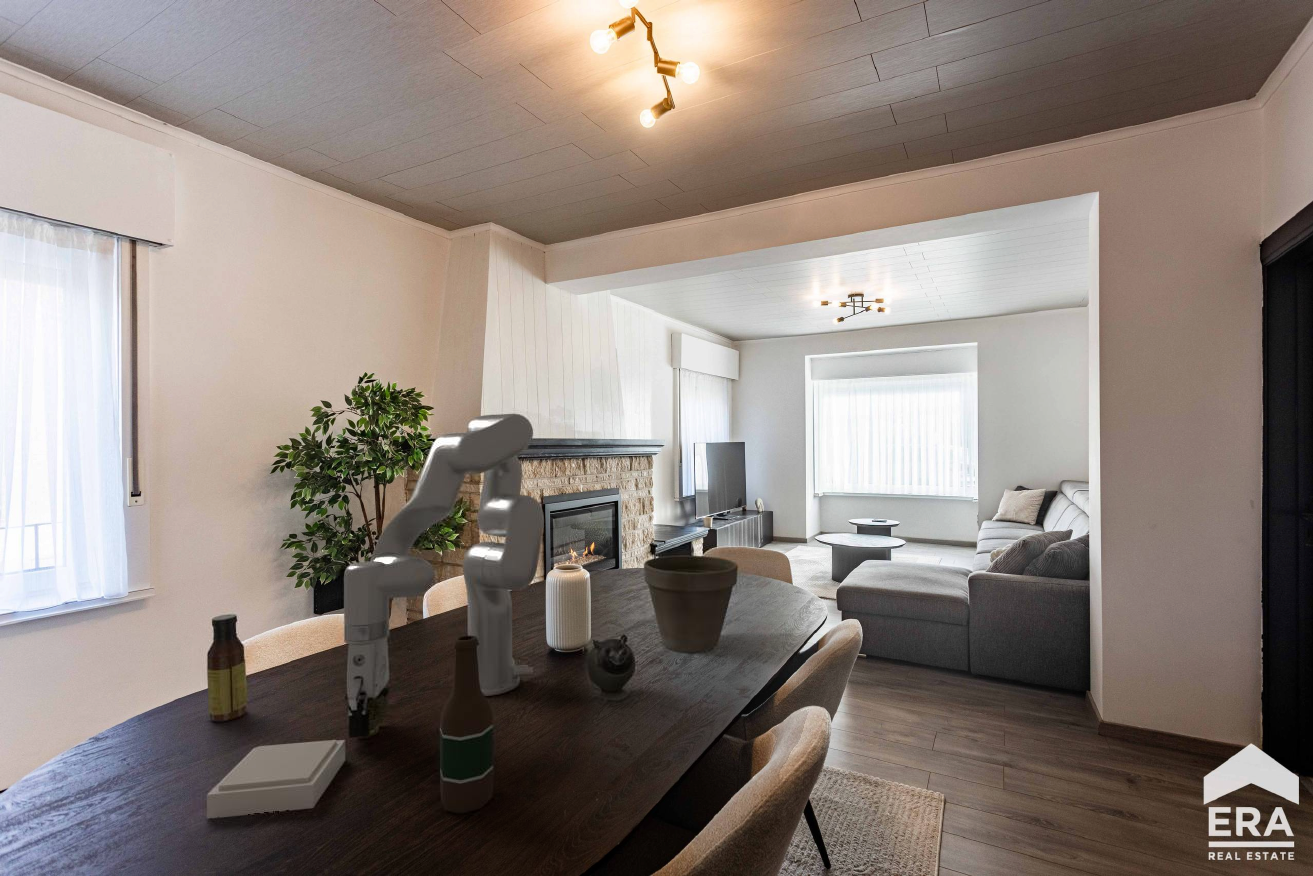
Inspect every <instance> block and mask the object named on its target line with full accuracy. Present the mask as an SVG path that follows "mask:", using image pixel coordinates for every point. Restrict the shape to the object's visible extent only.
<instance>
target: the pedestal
mask: <svg viewBox="0 0 1313 876" xmlns="http://www.w3.org/2000/svg"><path fill="white" fill-rule="evenodd" d="M345 761H346V739H341V740H337V739H331V740H317V741H306V742H304V741H303V742H296V743H285V744H284V743H281V744H272V745H271V744H270V745H269V744H268V745H258V746H257V747H253V749H251V750H250V751H249V753H248V754H246V756H245V757H244V758H243V759H241V760H240V761H239V762H238V763H237V764H236V765H235V766H234V767H233V769H231V770H230V771H229V772H228V773H227V774H226V776H223V778H222V779H221V780H220V781H219V782H218V783H217V784H216V785H215V786H214V787H213V788H212V789H211V790H210V791H209V792H208V793H207V795H206V819H207V820H209V819H210V818H211V819H219V818H220V819H221V818H227V817H228V818H230V817H238V816H249V815H248V814H250V815H255V814H254V813H260V814H265V813H264V812H269V813H276V812H275V811H279V812H287V811H286V810H289V811H297V810H298V811H299V810H306V809H313V808H314V807H316V804H317V803H318V801H319V800H320V798H321V796H322V795H323V794H324V793H325V791H326V789H327V788H328V787H329V786H330V784H331V783H332V781H333V779H334V778H335V776H336V775H337V773H338V772H339V770H340V768H341V767H342V766H343V765H344V763H345ZM273 811H274V812H273ZM218 817H219V818H218Z"/></svg>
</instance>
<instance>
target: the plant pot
mask: <svg viewBox="0 0 1313 876" xmlns="http://www.w3.org/2000/svg"><path fill="white" fill-rule="evenodd" d="M738 569H739V565H738V564H737V563H736V562H735V561H734V560H733V561H732V560H729V559H727V558H726V559H725V558H723V557H722V558H721V557H715V556H713V557H712V556H704V555H703V556H702V555H669V556H660V557H653V558H651V559H647V560H646V561H645V562H644V563H643V571H644V572H643V573H644V582H645V583H646V584H647V585H648V590H649V594H650V598H651V603H652V606H653V610H654V615H655V619H656V622H657V626H658V630H659V634H660V638H661V641H662V644H663V646H664V647H665V648H667V649H669V650H672V651H675V652H679V651H680V653H688V652H696V653H703V652H702V651H704V652H707V651H706V650H709V651H711V650H710V649H712V648H714V647H715V648H716V647H717V646H718V644H719V642H720V637H721V635H722V631H723V627H724V623H725V619H726V615H727V612H728V608H729V604H730V600H731V597H732V592H733V588H734V587H735V585H737V583H738ZM715 648H714V649H715ZM712 650H713V649H712Z"/></svg>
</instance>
